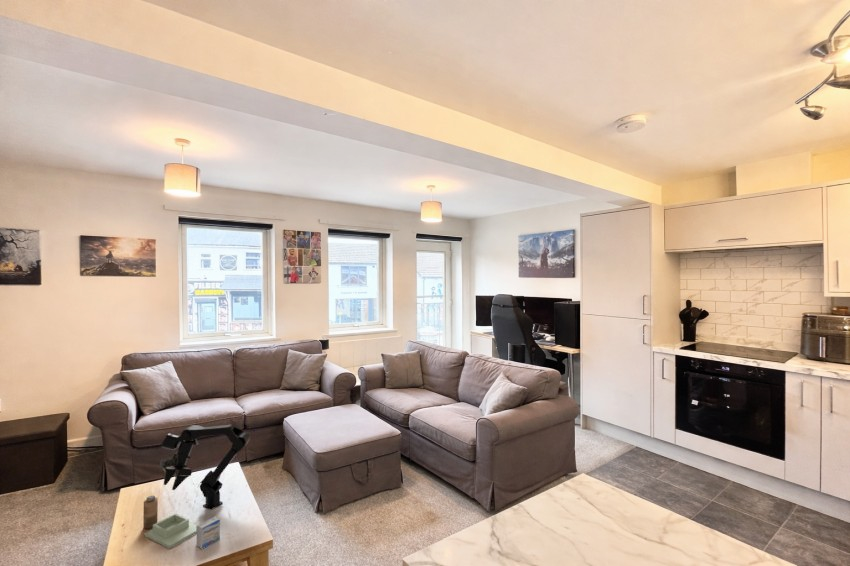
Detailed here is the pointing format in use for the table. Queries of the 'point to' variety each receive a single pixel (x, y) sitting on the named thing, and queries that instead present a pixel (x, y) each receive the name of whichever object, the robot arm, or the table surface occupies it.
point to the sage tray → (172, 530)
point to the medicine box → (208, 532)
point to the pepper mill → (150, 512)
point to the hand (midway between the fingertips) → (168, 487)
